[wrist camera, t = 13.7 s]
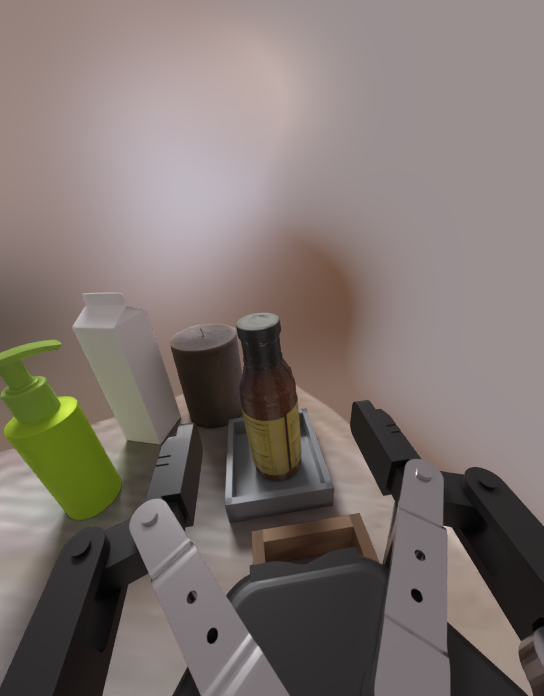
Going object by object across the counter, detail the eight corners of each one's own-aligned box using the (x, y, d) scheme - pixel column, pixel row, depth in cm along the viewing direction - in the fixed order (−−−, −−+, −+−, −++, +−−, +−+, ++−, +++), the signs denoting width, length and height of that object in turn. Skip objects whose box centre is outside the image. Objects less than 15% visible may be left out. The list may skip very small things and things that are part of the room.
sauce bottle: (285, 436, 37) (276, 302, 28) (312, 469, 32) (311, 319, 23) (243, 456, 34) (217, 316, 25) (265, 495, 30) (242, 339, 20)
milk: (161, 445, 38) (102, 301, 28) (125, 440, 39) (57, 301, 29) (181, 416, 43) (139, 285, 33) (150, 412, 45) (99, 286, 34)
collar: (267, 766, 16) (261, 758, 14) (256, 553, 25) (251, 531, 23) (426, 730, 16) (441, 717, 14) (356, 536, 26) (359, 513, 24)
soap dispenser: (137, 484, 33) (65, 344, 23) (75, 531, 28) (-45, 382, 19) (118, 460, 36) (49, 330, 27) (60, 499, 32) (-48, 359, 22)
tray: (229, 522, 28) (224, 505, 26) (231, 434, 39) (228, 419, 37) (332, 505, 29) (333, 487, 27) (306, 424, 40) (306, 408, 38)
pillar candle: (203, 438, 39) (180, 350, 32) (181, 405, 46) (158, 327, 39) (257, 409, 43) (248, 327, 36) (230, 383, 51) (217, 310, 43)
